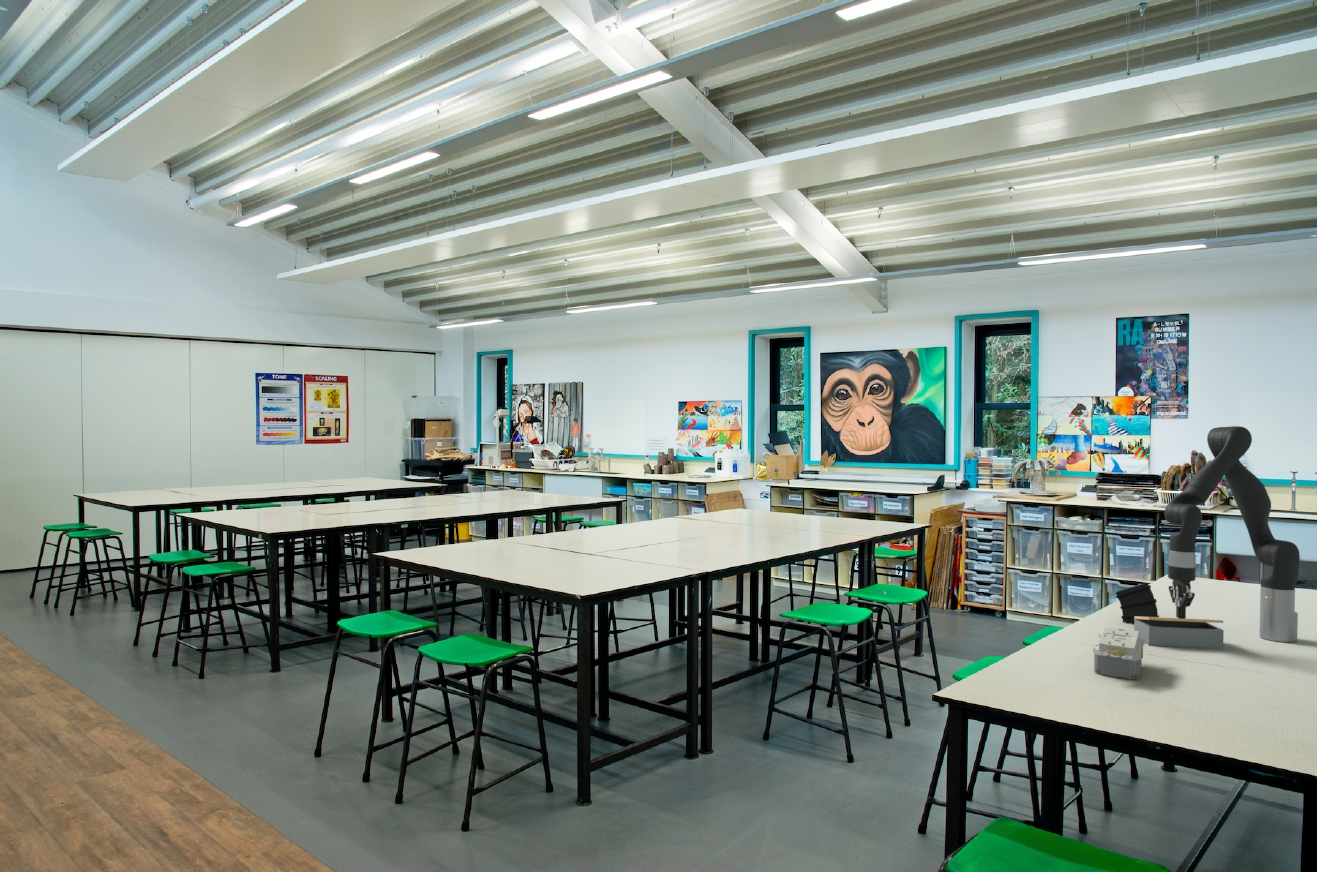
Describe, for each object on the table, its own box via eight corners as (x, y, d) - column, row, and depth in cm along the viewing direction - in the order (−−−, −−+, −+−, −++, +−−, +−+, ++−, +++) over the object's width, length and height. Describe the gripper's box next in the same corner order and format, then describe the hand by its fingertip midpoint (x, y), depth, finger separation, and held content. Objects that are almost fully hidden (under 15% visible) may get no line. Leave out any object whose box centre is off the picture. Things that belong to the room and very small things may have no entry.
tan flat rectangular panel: (1205, 621, 269) (1205, 619, 269) (1223, 623, 258) (1223, 620, 258) (1134, 618, 272) (1134, 616, 272) (1148, 619, 262) (1148, 617, 262)
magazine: (1167, 624, 284) (1147, 583, 288) (1128, 634, 291) (1109, 594, 295) (1169, 622, 287) (1148, 581, 291) (1130, 632, 294) (1110, 593, 298)
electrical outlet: (1145, 659, 242) (1146, 627, 242) (1138, 691, 219) (1139, 654, 218) (1101, 653, 249) (1101, 621, 248) (1089, 682, 226) (1090, 647, 225)
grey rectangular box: (1205, 640, 269) (1205, 622, 269) (1223, 648, 258) (1223, 630, 258) (1134, 636, 272) (1134, 618, 272) (1148, 645, 261) (1149, 626, 261)
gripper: (1204, 568, 256) (1203, 623, 256) (1184, 562, 269) (1183, 614, 269) (1179, 567, 257) (1177, 622, 257) (1160, 561, 270) (1159, 613, 270)
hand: (1180, 618), depth 263 cm, fingers closed
